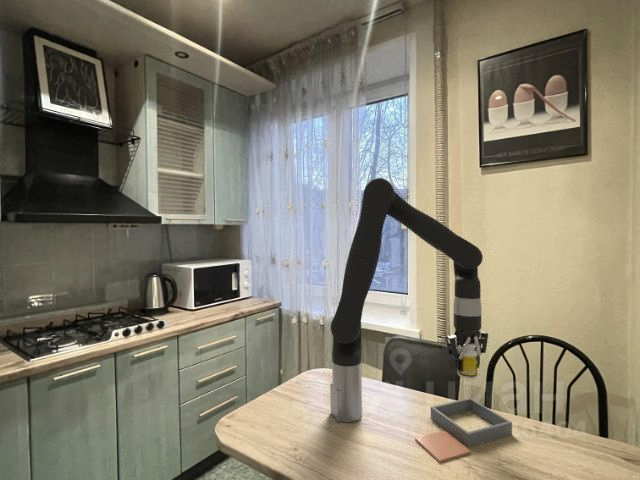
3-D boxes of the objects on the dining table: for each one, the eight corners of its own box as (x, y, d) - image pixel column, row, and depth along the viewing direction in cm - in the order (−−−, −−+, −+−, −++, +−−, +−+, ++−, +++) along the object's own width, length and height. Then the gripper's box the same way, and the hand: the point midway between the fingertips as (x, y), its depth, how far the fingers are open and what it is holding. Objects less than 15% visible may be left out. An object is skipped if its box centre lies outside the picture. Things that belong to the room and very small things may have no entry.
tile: (439, 462, 86) (439, 460, 86) (415, 440, 95) (415, 438, 95) (471, 453, 89) (471, 451, 89) (444, 432, 99) (444, 430, 99)
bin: (468, 447, 92) (468, 434, 92) (430, 417, 106) (430, 406, 106) (511, 434, 97) (511, 422, 97) (470, 408, 112) (470, 397, 112)
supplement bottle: (479, 380, 98) (479, 346, 98) (459, 378, 99) (459, 345, 99) (474, 372, 103) (474, 340, 103) (455, 371, 104) (455, 339, 104)
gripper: (476, 307, 107) (476, 361, 107) (438, 311, 102) (438, 368, 102) (496, 312, 100) (496, 370, 100) (456, 317, 95) (456, 378, 95)
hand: (467, 368), depth 101 cm, fingers closed on supplement bottle, 5 cm apart
